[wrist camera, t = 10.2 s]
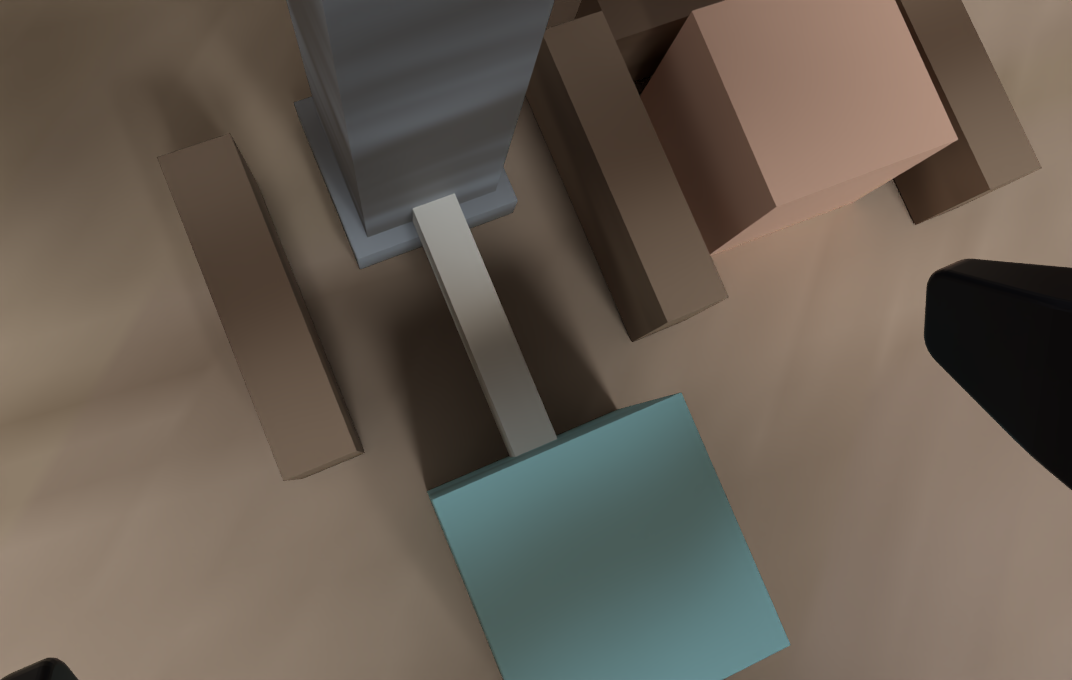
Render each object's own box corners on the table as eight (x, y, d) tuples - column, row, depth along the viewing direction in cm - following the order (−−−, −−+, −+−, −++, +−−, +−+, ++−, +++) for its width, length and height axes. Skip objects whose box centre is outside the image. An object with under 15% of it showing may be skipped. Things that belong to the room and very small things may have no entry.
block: (852, 202, 23) (958, 139, 18) (703, 259, 22) (776, 206, 17) (786, 51, 23) (874, -47, 19) (637, 101, 22) (692, 10, 18)
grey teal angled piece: (699, 601, 20) (1175, 827, 8) (508, 694, 20) (692, 1126, 7) (470, 62, 22) (555, -516, 9) (279, 126, 21) (67, -418, 8)
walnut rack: (961, 206, 23) (1041, 168, 20) (302, 478, 20) (283, 480, 17) (842, -48, 24) (903, -120, 21) (182, 173, 20) (143, 123, 17)
